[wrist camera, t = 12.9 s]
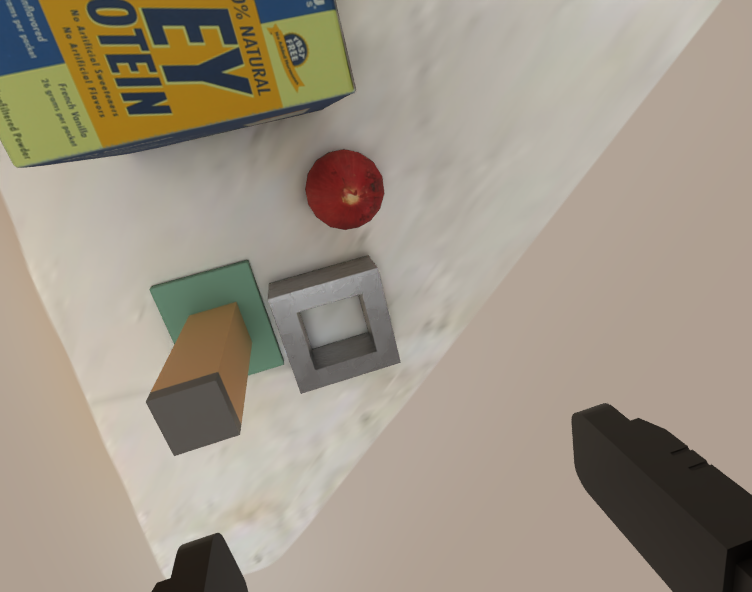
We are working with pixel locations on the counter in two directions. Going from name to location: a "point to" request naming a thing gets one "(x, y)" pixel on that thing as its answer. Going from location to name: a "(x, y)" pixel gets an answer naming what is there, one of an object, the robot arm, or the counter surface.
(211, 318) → the plug
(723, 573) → the robot arm
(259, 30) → the protein box
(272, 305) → the gray square frame
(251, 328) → the mat
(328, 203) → the red onion
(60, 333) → the counter surface
